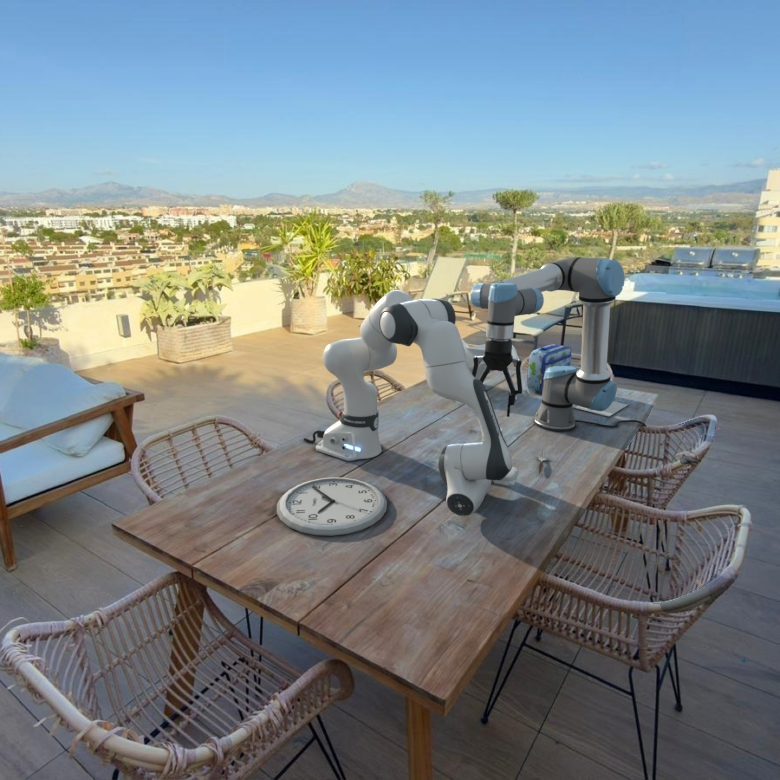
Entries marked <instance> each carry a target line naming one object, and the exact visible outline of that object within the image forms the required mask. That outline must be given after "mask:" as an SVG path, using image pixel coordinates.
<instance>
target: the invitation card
mask: <svg viewBox="0 0 780 780" xmlns="http://www.w3.org/2000/svg"><path fill="white" fill-rule="evenodd" d="M628 406H629V404H627V403H623V402H618V401H614V400H613V402H612V403H611V405H610V406H609V407H608V408H607V409H606V410H604V411H596V410H590V409H588V408H584V407H581V406H578V405H575V406H574V407H573V409H575V410H581V411H584V412H587V413H593V414H596V415H600V416H604V417H608V418H609V417H611V416H613V415H614V414H616V413H617V412H619V411H621V410H623V409H624V408H626V407H628Z"/></svg>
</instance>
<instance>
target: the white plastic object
mask: <svg viewBox="0 0 780 780" xmlns="http://www.w3.org/2000/svg"><path fill="white" fill-rule="evenodd" d="M461 339H462V343H463V346H464V350H465V355H466V361H467V365H468V368H469V370H470V372H471V373H472V371H473V367H474V361H473V359H474V356H483V355H484V353H485V343H483V344H479V345H473V346H469V345H468V343H466V342H465V340H464V339H463V338H461ZM511 355H512V357H513V358H514V359H519V355H518V352H517V349H516V347H515V346H514V345H513V344H512V353H511ZM464 361H465V360H464ZM486 367H487V365H486V364H485V362H484V361H483V360H482V361H481V363H480V364H479V365H478V369H477V373H476V377H475V378H476V379H478V380H480V378H481V376H482V374H483V372H484V371H485V369H486ZM507 368H508V371H509V374H510V376H511V379H512V382H513V383H514V381H513V378H512V375H511V371H510V369H509V366H508V367H507ZM522 368H523V367H522V366H521V367H520V370H521V381H522V392H523V393H524V395H525V396H526V397H528V396H531V395H530V390H529V389H528V387H527V380H526V378H525V375H524V371H523V369H522ZM492 372H493V371H491V370H490V371H489V373H488V375H489V374H490V373H492ZM506 383H507V382H506ZM507 386H508V383H507ZM508 390H509V391H510V389H509V386H508ZM517 395H518V394H517ZM517 395H516V396H515V400H517Z"/></svg>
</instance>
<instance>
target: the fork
mask: <svg viewBox="0 0 780 780" xmlns="http://www.w3.org/2000/svg"><path fill="white" fill-rule="evenodd" d="M547 458H548V451H546V450H544V449H542V451H541V449H540V450H539V454H538V460H539V461H540V463H539V464H538V474H541V472H542V469H543V467H544V465H543V464H544V463H543V462H544V461H546V460H547Z"/></svg>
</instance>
